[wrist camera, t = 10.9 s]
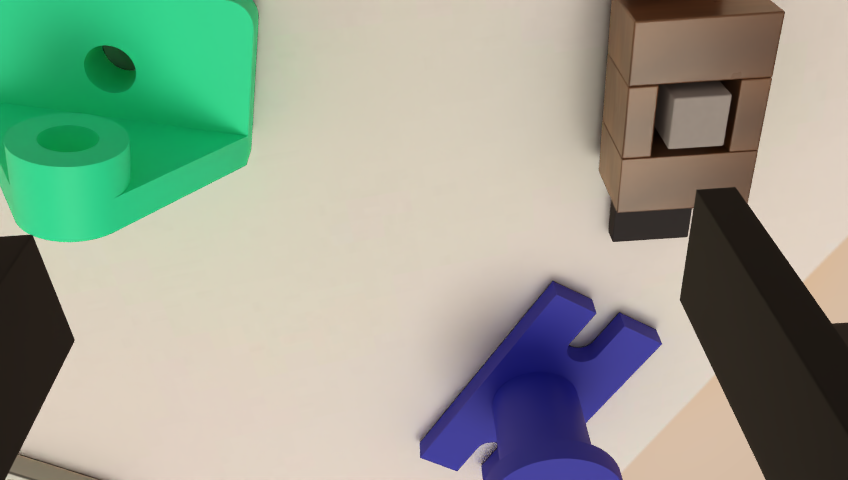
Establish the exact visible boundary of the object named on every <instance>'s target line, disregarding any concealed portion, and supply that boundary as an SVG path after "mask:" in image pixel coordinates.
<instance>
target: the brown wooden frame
mask: <svg viewBox="0 0 848 480" xmlns="http://www.w3.org/2000/svg"><path fill="white" fill-rule="evenodd" d="M784 14H785V12H784V11H783V10H782V9H781V8H780V7H778V6H777V5H776V4H775V3H773V2H772V1H771V0H612V1H611V14H610V28H609V41H608V55H607V69H606V82H605V96H604V109H603V121H602V134H601V148H600V161H599V172H600V175H601V177H602V179H603V181H604V184H605V186H606V188H607V191H608V193H609V195H610V197H611V200H612V202H613V204H614V207H615V209H616V211H617V213H624V212H639V211H654V210H669V209H684V208H694V203H695V196H696V190H698V189H713V188H728V187H736V188H737V190H738V191H739V193H740V194H741V195H742V197H743V198H744V200H745V201H746V203H748V198H749V193H750V188H751V183H752V178H753V173H754V168H755V163H756V157H757V152H758V146H759V141H760V136H761V131H762V126H763V121H764V116H765V111H766V106H767V101H768V96H769V91H770V85H771V80H772V78H771V77H772V75H773V70H774V65H775V60H776V54H777V49H778V44H779V39H780V34H781V29H782V24H783V19H784ZM704 81H720V82H721V83H722V84H723V85H724V86H725V88H726V89H727V90H728V91H729V92H730V93H731V95H732V96H731V102H730V108H729V114H728V120H727V126H726V132H725V138H724V144H723V145H722V146H709V147H694V148H679V149H668V147H667V146H666V144H665V143H664V141H663V139H662V138H661V136H660V134H659V133H658V131H657V130H656V128H655V126H654V125H655V116H656V108H657V99H658V90H659V84H674V83H689V82H704Z"/></svg>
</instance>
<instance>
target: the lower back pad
mask: <svg viewBox="0 0 848 480" xmlns="http://www.w3.org/2000/svg"><path fill="white" fill-rule="evenodd" d="M731 96H732V95H731V93H730V92H729V91H728V90H727V89H726V88H725V86H724V85H723V84H722V83H721V82H720V81H704V82H689V83H674V84H659V90H658V99H657V108H656V116H655V125H654V126H655V128H656V130H657V131H658V133H659V134H660V136H661V138H662V139H663V141H664V143H665V144H666V146H667V147H668V149H679V148H694V147H709V146H722V145H723V144H724V138H725V132H726V126H727V120H728V114H729V108H730V102H731ZM691 210H692V208H684V209H669V210H654V211H639V212H624V213H617V211H616V209H615V207H614V204H613V202H612V200H611V210H610V221H609V234H610V236H611V239H612V241H613V242H619V241H634V240H649V239H664V238H679V237H687V236H688V230H689V224H690V217H691Z"/></svg>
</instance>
